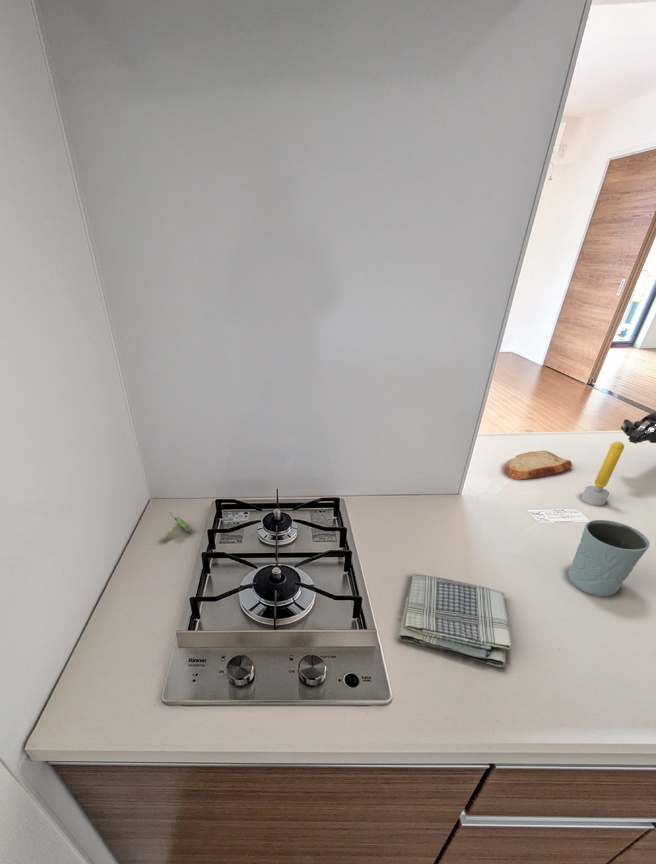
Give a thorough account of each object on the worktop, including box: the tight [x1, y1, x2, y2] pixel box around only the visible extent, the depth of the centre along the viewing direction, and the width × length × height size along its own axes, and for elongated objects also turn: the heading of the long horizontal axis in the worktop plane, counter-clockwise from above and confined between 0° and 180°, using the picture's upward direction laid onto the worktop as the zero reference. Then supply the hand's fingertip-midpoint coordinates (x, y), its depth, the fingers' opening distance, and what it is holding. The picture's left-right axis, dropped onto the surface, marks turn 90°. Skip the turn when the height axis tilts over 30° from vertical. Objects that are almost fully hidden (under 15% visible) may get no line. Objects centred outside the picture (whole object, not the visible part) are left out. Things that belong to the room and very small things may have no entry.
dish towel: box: [398, 573, 512, 668], centre depth 80 cm, size 19×18×3 cm
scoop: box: [581, 441, 625, 506], centre depth 110 cm, size 5×5×17 cm
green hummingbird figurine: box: [162, 511, 192, 543], centre depth 104 cm, size 7×8×7 cm
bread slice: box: [504, 450, 573, 481], centre depth 128 cm, size 18×18×4 cm
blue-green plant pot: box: [568, 519, 650, 597], centre depth 86 cm, size 10×10×12 cm
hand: (634, 439), depth 111 cm, fingers closed
